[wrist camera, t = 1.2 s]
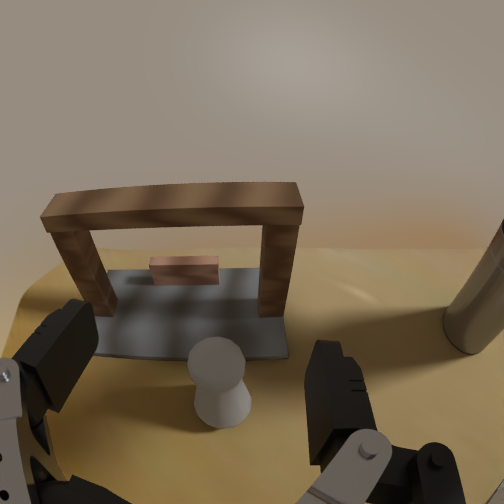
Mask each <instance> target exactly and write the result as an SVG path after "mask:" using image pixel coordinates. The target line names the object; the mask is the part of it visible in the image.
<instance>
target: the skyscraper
mask: <svg viewBox="0 0 504 504" xmlns="http://www.w3.org/2000/svg"><path fill="white" fill-rule="evenodd" d="M486 504H504V480H503V481H502V483H501V484H500V485H499V487H498V488H497V490H496V491H495V492H494V494H493V495H492V497H491V498H490V499H489V500H488V502H487V503H486Z"/></svg>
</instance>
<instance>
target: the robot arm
mask: <svg viewBox="0 0 504 504" xmlns="http://www.w3.org/2000/svg"><path fill="white" fill-rule="evenodd" d="M443 325H444V329H445V332H446V334H447V336H448V338H449V339H450V341H451V342H452V343H453V344H454V345H455V346H456V347H457V348H458V349H459V350H461V351H463V352H465V353H469V354H476V353H479V352H481V351H482V350H483V349H484V348H485V347H486V346H487V345H488V344H489V343H490V342H491V341H492V340H493V339H494V338H495V337H496V336H497V335H498V334H499V333H500V332H501V331H502V330H503V329H504V219H503V221H502V223H501V225H500V227H499V229H498V231H497V232H496V234H495V236H494V238H493V240H492V241H491V244H490V245H489V247H488V248H487V250H486V252H485V253H484V255H483V257H482V258H481V260H480V262H479V263H478V265H477V266H476V268H475V269H474V271H473V273H472V274H471V276H470V277H469V279H468V280H467V282H466V283H465V285H464V286H463V288H462V289H461V290H460V292H459V293H458V295H457V296H456V297H455V299H454V300H453V302H452V303H451V304H450V306H449V307H448V308H447V310H446V311H445V314H444V318H443ZM98 342H99V334H98V330H97V325H96V321H95V316H94V311H93V306H92V304H91V303H89V302H85V301H81V300H77V299H71V300H69V301H68V303H67V304H66V305H65V306H64V307H63V308H62V309H58V310H56V311H55V312H53V313H51V314H50V315H48V316H47V317H46V318H45V319H44V321H43V322H42V323H41V325H40V326H38V327H37V329H36V330H35V332H34V333H32V334H31V336H30V337H29V338H28V339H27V340H26V342H25V343H24V344H23V345H22V346H21V348H20V349H19V350H18V351H17V352H16V354H15V355H14V356H13V357H12V358H0V504H131V503H129V502H128V501H126V500H124V499H122V498H121V497H119V496H117V495H116V494H114V493H112V492H111V491H109V490H108V489H106V488H104V487H102V486H99V485H96V484H94V483H91V482H89V481H86V480H84V479H81V478H79V477H77V476H74V475H72V476H71V479H70V481H66V480H65V477H64V475H63V473H62V471H61V469H60V467H59V466H58V464H57V461H56V458H55V454H54V450H53V446H52V442H51V437H50V432H49V427H48V422H47V418H46V415H45V413H46V411H47V409H50V410H52V411H55V412H57V413H59V412H60V410H61V408H62V407H63V405H64V403H65V401H66V400H67V398H68V396H69V394H70V393H71V391H72V389H73V387H74V386H75V384H76V382H77V381H78V379H79V377H80V376H81V374H82V372H83V371H84V369H85V367H86V366H87V364H88V363H89V361H90V359H91V358H92V356H93V354H94V353H95V351H96V349H97V347H98ZM304 389H305V401H306V414H307V427H308V442H309V458H310V465H320V469H321V475H320V476H319V477H318V478H317V480H316V481H315V482H314V483H313V484H312V486H311V487H310V488H309V489H308V490H307V491H306V493H305V494H304V495H303V496H302V497H301V498H300V499H299V500H298V502H297V503H296V504H364V503H365V502H366V503H372V504H466V502H465V497H464V493H463V488H462V484H461V480H460V476H459V472H458V469H457V465H456V461H455V458H454V455H453V453H452V452H451V450H450V449H449V448H448V447H447V446H445V445H443V444H441V443H436V442H432V443H428V444H426V445H424V446H423V447H422V448H421V449H420V450H419V451H417V450H411V449H406V448H401V447H396V446H393V445H391V443H390V441H389V440H388V439H387V437H386V436H385V435H383V434H382V433H380V432H378V431H377V428H376V424H375V420H374V416H373V412H372V408H371V404H370V400H369V397H368V393H367V392H366V390H367V389H366V386H365V382H364V378H363V375H362V371H361V368H360V367H359V365H358V364H357V363H356V361H355V360H354V359H353V358H352V357H344V356H343V352H342V348H341V344H340V342H339V341H327V340H317V341H316V343H315V346H314V349H313V352H312V355H311V358H310V361H309V364H308V367H307V370H306V374H305V380H304Z"/></svg>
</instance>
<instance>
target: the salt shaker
mask: <svg viewBox="0 0 504 504" xmlns="http://www.w3.org/2000/svg"><path fill="white" fill-rule="evenodd" d="M187 367H188V371H189V374H190V377H191V379H192V381H193V382H194V383H195V384H196V391H195V399H194V407H195V410H196V413H197V415H198V417H199V418H201V419H202V420H203V421H204V422H205V423H206V424H207V425H209V426H212V427H215V428H219V429H225V428H233V427H235V426H236V425H238V424H240V423H241V422H243V421H244V420H245V418H246V417H247V415H248V413H249V412H250V410H251V396H250V394H249V392H248V390H247V388H246V386H245V384H244V382H243V380H242V378H243V376H244V372H245V358H244V356H243V354H242V352H241V350H240V347H239V346H237V345H236V344H235V343H234V342H233V341H231V340H230V339H226V338H222V337H209V338H205V339H204V340H202V341H200V342H198V343H196V345H195V346H194V347H193V348H192V350H191V351H190V352H189V357H188V363H187Z"/></svg>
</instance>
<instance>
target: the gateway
mask: <svg viewBox="0 0 504 504" xmlns="http://www.w3.org/2000/svg"><path fill="white" fill-rule="evenodd" d="M303 210H304V205H303V202H302V199H301V196H300V193H299V190H298V187H297V184H296V183H294V182H228V183H227V182H226V183H224V182H223V183H190V184H167V185H149V186H134V187H122V188H108V189H98V190H87V191H77V192H69V193H59V194H56V195H55V196H54V197H53V199H52V200H51V202H50V203H49V204H48V206H47V207H46V209H45V210H44V212H43V213H42V215H41V216H40V218H41V221H42V223H43V225H44V227H45V230H46V232H47V233H51V236H52V238H53V240H54V242H55V244H56V246H57V249H58V250H59V253H60V255H61V256H62V259H63V261H64V263H65V265H66V267H67V269H68V271H69V273H70V275H71V276H72V278H73V280H74V282H75V284H76V286H77V288H78V289H79V291H80V293H81V295H82V297H83V298H84V300H85V302H89V303H91V304H92V306H93V311H94V316H95V321H96V325H97V330H98V334H99V342H98V347H97V349H96V351H95V353H94V354H93V355H95V356H105V357H117V358H131V359H148V360H174V361H188V357H189V352H190V351H191V350H192V348H193V347H194V346H195V345H196V343H198V342H200V341H202V340H204V339H205V338H209V337H222V338H226V339H230V340H231V341H233V342H234V343H235V344H236V345H237V346H239V347H240V350H241V352H242V354H243V356H244V358H245V360H266V359H283V358H288V347H287V340H286V333H285V326H284V319H283V315H284V310H285V304H286V299H287V294H288V288H289V283H290V278H291V272H292V266H293V261H294V255H295V249H296V243H297V237H298V230H299V225H301V222H302V216H303ZM237 225H263V228H262V242H261V243H262V244H261V257H260V268H227V269H219V263H218V256H185V257H151V258H150V262H149V268H150V270H108V272H107V273H106V271H105V269H104V266H103V264H102V262H101V259H100V257H99V254H98V252H97V249H96V247H95V244H94V242H93V239H92V237H91V234H90V231H89V230H106V229H128V228H129V229H130V228H158V227H190V226H237Z"/></svg>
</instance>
